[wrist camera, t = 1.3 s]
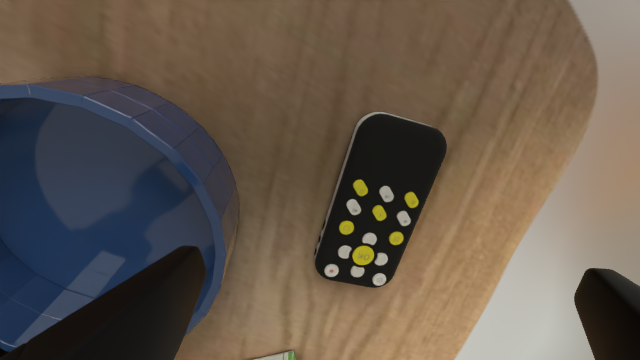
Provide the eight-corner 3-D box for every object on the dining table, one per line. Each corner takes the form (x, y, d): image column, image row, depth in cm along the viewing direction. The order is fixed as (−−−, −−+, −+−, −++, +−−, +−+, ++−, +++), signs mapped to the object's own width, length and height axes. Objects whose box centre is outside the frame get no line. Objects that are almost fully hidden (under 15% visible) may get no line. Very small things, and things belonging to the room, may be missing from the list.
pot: (251, 293, 26) (241, 351, 21) (29, 311, 25) (-39, 377, 20) (221, 71, 20) (197, 77, 15) (-75, 82, 19) (-211, 93, 14)
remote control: (445, 128, 22) (459, 135, 21) (382, 278, 27) (389, 295, 25) (360, 104, 21) (366, 109, 19) (309, 264, 26) (310, 281, 24)
